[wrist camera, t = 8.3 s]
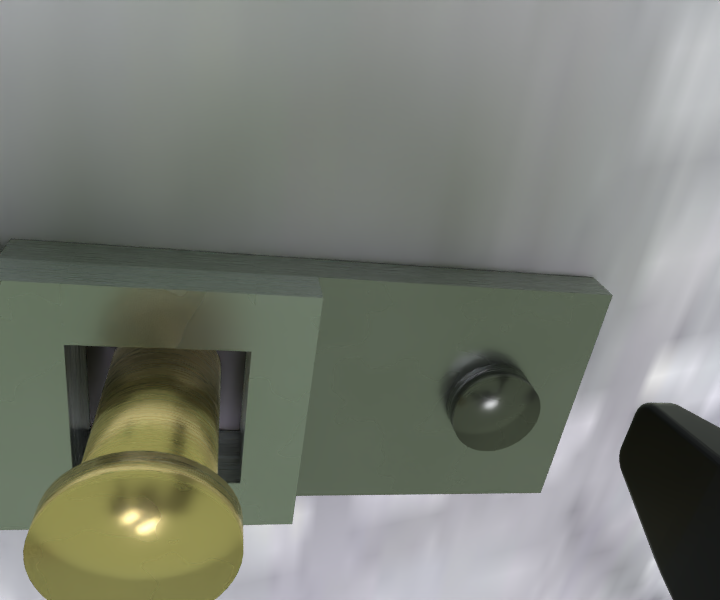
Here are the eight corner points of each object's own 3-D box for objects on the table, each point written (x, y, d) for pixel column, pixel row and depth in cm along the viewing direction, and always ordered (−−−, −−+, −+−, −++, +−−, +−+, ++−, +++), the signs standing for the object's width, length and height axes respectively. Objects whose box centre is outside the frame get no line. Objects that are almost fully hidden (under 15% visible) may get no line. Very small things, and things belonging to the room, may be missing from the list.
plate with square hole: (593, 277, 21) (648, 329, 18) (527, 469, 24) (565, 536, 22) (-411, 210, 15) (-556, 269, 12) (-304, 472, 19) (-397, 563, 16)
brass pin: (245, 309, 19) (250, 476, 13) (236, 427, 21) (236, 620, 15) (86, 302, 18) (13, 478, 12) (92, 426, 20) (32, 631, 14)
